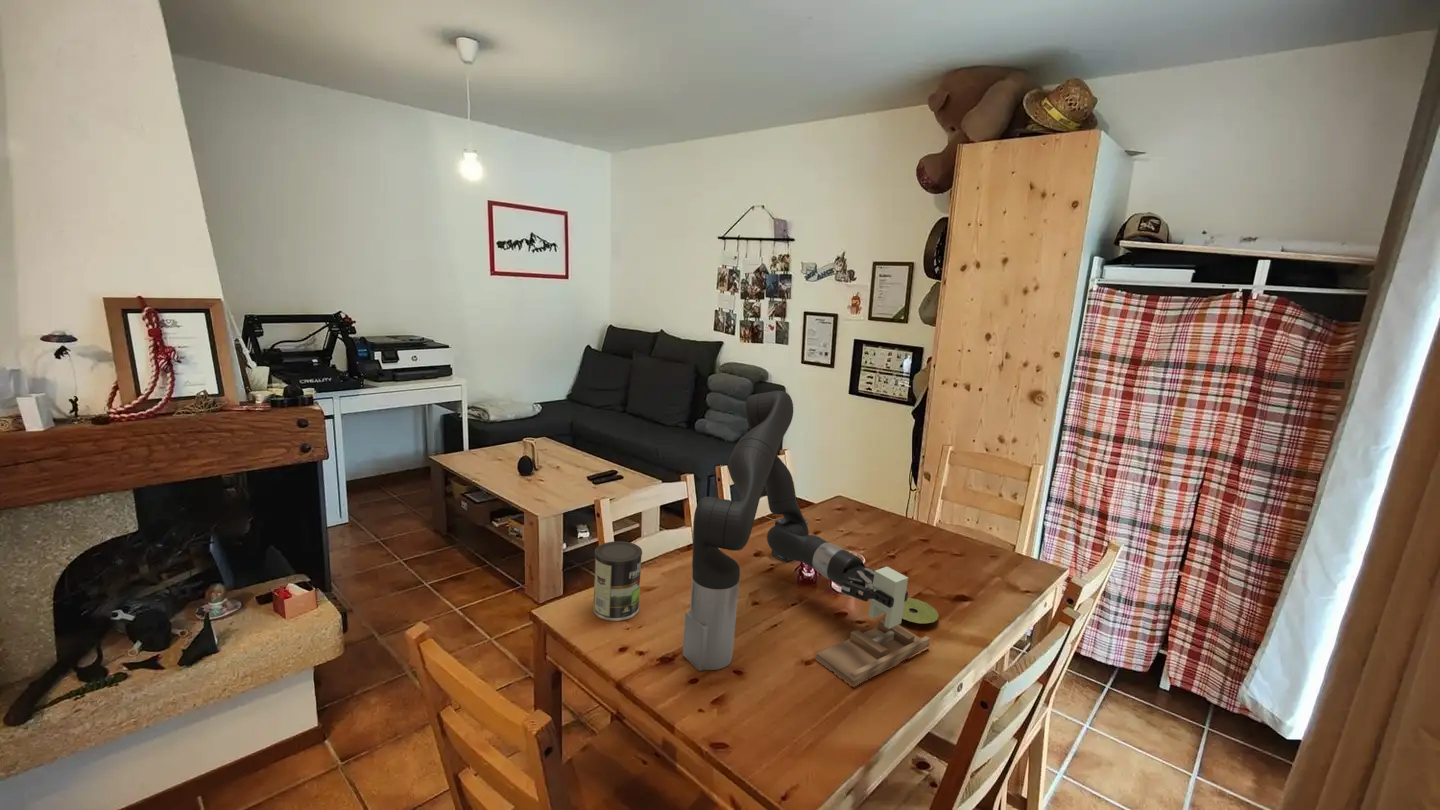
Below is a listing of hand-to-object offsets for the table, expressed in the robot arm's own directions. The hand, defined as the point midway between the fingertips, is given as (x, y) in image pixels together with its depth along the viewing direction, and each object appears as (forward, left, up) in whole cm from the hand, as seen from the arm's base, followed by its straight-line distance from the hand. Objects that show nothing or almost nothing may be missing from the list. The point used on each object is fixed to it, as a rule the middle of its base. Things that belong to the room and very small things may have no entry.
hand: (899, 600), depth 125 cm
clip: (0, +3, -6) cm, 7 cm away
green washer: (+17, +7, -13) cm, 22 cm away
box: (+12, +45, -13) cm, 49 cm away
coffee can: (-41, +44, -13) cm, 62 cm away
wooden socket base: (-3, +2, -13) cm, 13 cm away
